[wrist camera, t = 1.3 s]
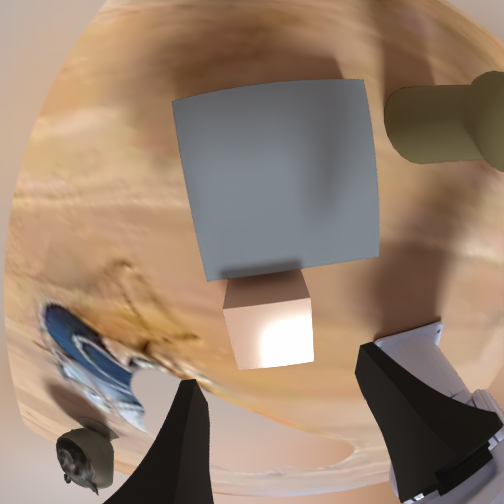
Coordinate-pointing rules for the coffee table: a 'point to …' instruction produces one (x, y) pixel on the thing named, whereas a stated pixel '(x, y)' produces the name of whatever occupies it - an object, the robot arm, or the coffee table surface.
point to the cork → (449, 122)
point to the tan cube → (269, 319)
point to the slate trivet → (280, 175)
